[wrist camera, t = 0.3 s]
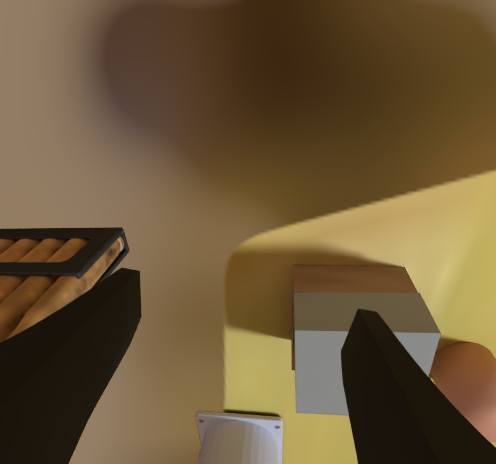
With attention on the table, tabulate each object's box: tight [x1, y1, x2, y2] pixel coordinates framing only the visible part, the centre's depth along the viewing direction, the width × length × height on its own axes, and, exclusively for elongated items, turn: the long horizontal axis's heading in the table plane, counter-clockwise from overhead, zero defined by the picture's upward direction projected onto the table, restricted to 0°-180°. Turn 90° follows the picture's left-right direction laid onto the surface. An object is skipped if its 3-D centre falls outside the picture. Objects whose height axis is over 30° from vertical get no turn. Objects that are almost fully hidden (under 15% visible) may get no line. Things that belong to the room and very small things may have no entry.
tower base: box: [291, 265, 418, 370], centre depth 22 cm, size 7×7×3 cm
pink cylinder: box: [430, 342, 496, 442], centre depth 23 cm, size 4×4×4 cm
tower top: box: [294, 292, 441, 416], centre depth 20 cm, size 7×7×3 cm
